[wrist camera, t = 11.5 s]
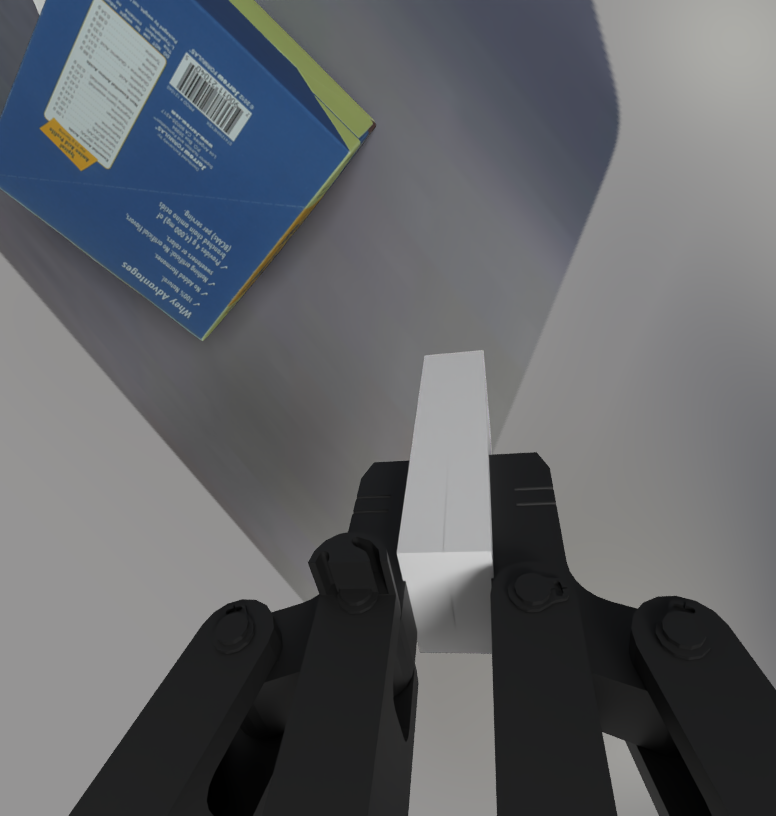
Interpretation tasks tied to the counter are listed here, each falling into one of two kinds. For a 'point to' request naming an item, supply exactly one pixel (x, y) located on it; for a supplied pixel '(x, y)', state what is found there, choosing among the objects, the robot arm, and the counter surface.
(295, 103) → the protein box
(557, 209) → the counter surface
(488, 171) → the counter surface
